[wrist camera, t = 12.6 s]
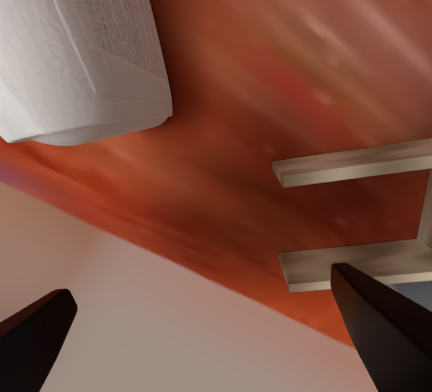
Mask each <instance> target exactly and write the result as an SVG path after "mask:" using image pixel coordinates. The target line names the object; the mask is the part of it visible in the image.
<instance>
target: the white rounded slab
mask: <svg viewBox="0 0 432 392" xmlns="http://www.w3.org/2000/svg"><path fill="white" fill-rule="evenodd" d="M172 114H173V110H172V98H171V92H170V87H169V82H168V76H167V73H166V68H165V64H164V59H163V55H162V51H161V46H160V42H159V38H158V33H157V29H156V25H155V21H154V17H153V13H152V9H151V5H150V1H149V0H0V136H1V137H2V138H3V139H4V140H5V141H7V142H8V143H17V142H24V141H31V140H34V141H37V142H40V143H45V144H50V145H56V146H73V145H80V144H84V143H89V142H93V141H98V140H102V139H106V138H110V137H115V136H119V135H123V134H127V133H132V132H136V131H141V130H145V129H149V128H153V127H156V126H159V125H161V124H162V123H163V122H165V121H166V119H167V118H168V117H170V116H172Z"/></svg>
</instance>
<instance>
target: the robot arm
mask: <svg viewBox="0 0 432 392" xmlns="http://www.w3.org/2000/svg"><path fill="white" fill-rule="evenodd" d="M330 284H331V290H332V293H333V295H334V298H335V300H336V303H337V305H338V308H339V310H340V312H341V315H342V317H343V320H344V322H345V325H346V327H347V330H348V332H349V335H350V337H351V339H352V342H353V344H354V346H355V348H356V350H357V352H358V354H359V355H360V358H361V359H362V361H363V363H364V365H365V367H366V369H367V371H368V373H369V375H370V377H371V378H372V380H373V382H374V384H375V386H376V388H377V390H378V392H432V311H430V310H428V309H427V308H425V307H423V306H421V305H420V304H418V303H416V302H414V301H413V300H411V299H409V298H407V297H406V296H404V295H402V294H401V293H399V292H397V291H395V290H394V289H392V288H390V287H388V286H387V285H385V284H383V283H381V282H380V281H378V280H376V279H374V278H373V277H371V276H369V275H367V274H366V273H364V272H362V271H361V270H359V269H357V268H355V267H354V266H352V265H350V264H348V263H346V262H340V263H333V264H332V265H331V281H330ZM76 313H77V304H76V302H75V300H74V298H73V296H72V294H71V292H70V291H69V290H68V289H57V290H54V291H52V292H50V293H49V294H47V295H45V296H44V297H42V298H40V299H39V300H37V301H35V302H34V303H32V304H30V305H29V306H27V307H25V308H24V309H22V310H20V311H19V312H17V313H15V314H14V315H12V316H10V317H9V318H7V319H5V320H4V321H2V322H0V392H39V391H40V389H41V387H42V386H43V384H44V382H45V380H46V378H47V376H48V374H49V372H50V370H51V368H52V367H53V365H54V363H55V361H56V359H57V357H58V354H59V352H60V350H61V348H62V345H63V343H64V341H65V338H66V336H67V334H68V332H69V329H70V327H71V325H72V322H73V320H74V318H75V315H76Z"/></svg>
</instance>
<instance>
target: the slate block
mask: <svg viewBox="0 0 432 392" xmlns="http://www.w3.org/2000/svg"><path fill="white" fill-rule="evenodd" d="M385 285H387V286H388V287H390V288H392V289H394V290H395V291H397V292H399V293H401V294H402V295H404V296H406V297H407V298H409V299H411V300H413V301H414V302H416V303H418V304H420V305H421V306H423V307H425V308H427V309H428V310H430V311H432V280H431V281H419V282H407V283H395V284H385Z"/></svg>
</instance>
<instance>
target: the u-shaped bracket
mask: <svg viewBox="0 0 432 392" xmlns="http://www.w3.org/2000/svg"><path fill="white" fill-rule="evenodd" d="M429 168H430V171H429V176H428V182H427V187H426V192H425V198H424V203H423V209H422V214H421V219H420V225H419V230H418V235H417V239H411V240H401V241H391V242H381V243H372V244H362V245H352V246H342V247H333V248H323V249H313V250H303V251H294V252H284V253H279V261H280V264H281V267H282V271H283V274H284V277H285V280H286V283H287V286H288V289H289V292H300V291H312V290H324V289H331V284H330V281H331V265H332V264H333V263H340V262H346V263H348V264H350V265H352V266H354V267H355V268H357V269H359V270H361V271H362V272H364V273H366V274H367V275H369V276H371V277H373V278H374V279H376V280H378V281H380V282H381V283H383V284H395V283H407V282H419V281H431V280H432V138H430V139H423V140H416V141H409V142H403V143H396V144H389V145H382V146H375V147H368V148H361V149H354V150H348V151H341V152H334V153H327V154H320V155H313V156H306V157H299V158H292V159H286V160H279V161H272V171H273V173H274V174H275V176H276V177H277V178H278V180H279V181H280V183H281V184H282V186H283V187H284V188H286V187H293V186H301V185H308V184H316V183H323V182H331V181H339V180H346V179H354V178H361V177H369V176H376V175H384V174H391V173H399V172H406V171H414V170H422V169H429Z"/></svg>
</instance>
